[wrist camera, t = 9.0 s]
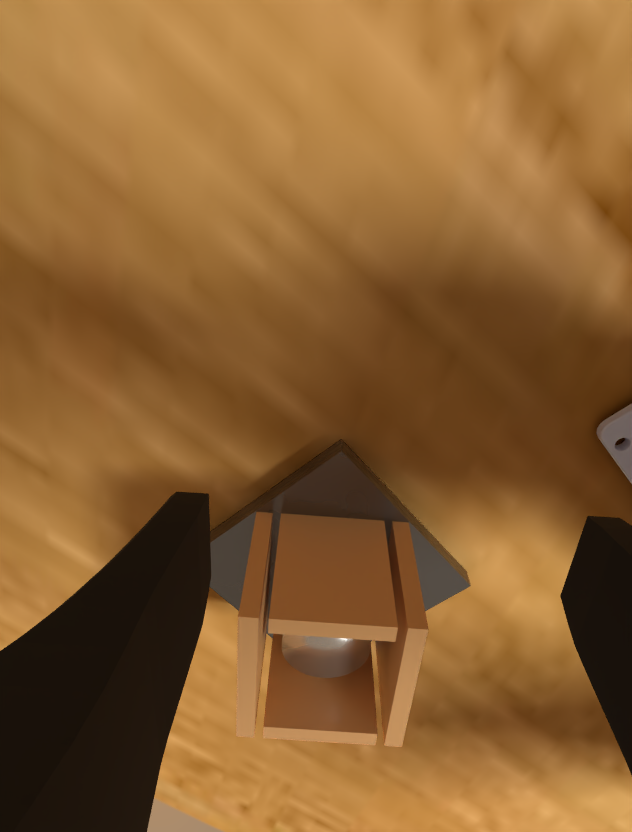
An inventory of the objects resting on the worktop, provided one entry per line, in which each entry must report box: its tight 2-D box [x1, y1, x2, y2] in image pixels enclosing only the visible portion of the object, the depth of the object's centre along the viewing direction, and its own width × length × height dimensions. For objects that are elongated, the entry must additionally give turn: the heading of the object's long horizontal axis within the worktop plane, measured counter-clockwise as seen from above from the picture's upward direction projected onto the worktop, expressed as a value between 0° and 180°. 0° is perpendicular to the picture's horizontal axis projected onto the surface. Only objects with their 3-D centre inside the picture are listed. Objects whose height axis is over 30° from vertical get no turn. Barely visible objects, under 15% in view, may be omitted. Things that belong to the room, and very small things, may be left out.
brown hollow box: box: [236, 512, 428, 747], centre depth 21 cm, size 6×6×5 cm
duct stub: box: [209, 439, 471, 678], centre depth 22 cm, size 8×8×4 cm
